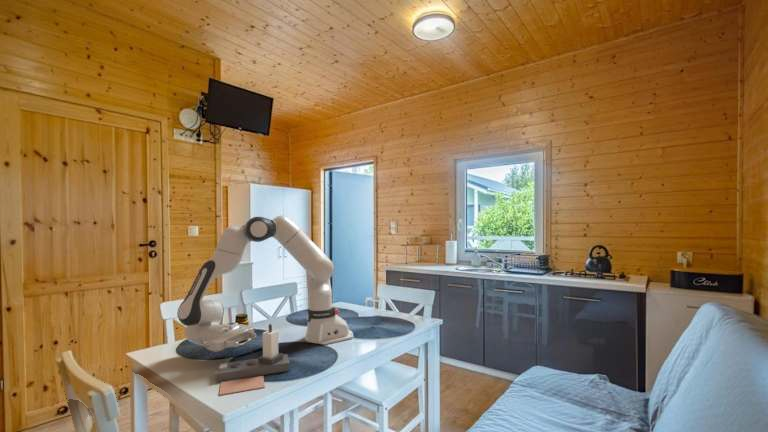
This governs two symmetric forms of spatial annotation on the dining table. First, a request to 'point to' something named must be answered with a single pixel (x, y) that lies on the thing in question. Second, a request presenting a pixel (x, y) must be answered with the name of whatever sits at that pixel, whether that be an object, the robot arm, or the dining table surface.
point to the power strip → (252, 367)
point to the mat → (241, 385)
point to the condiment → (243, 320)
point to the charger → (270, 343)
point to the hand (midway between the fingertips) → (246, 340)
